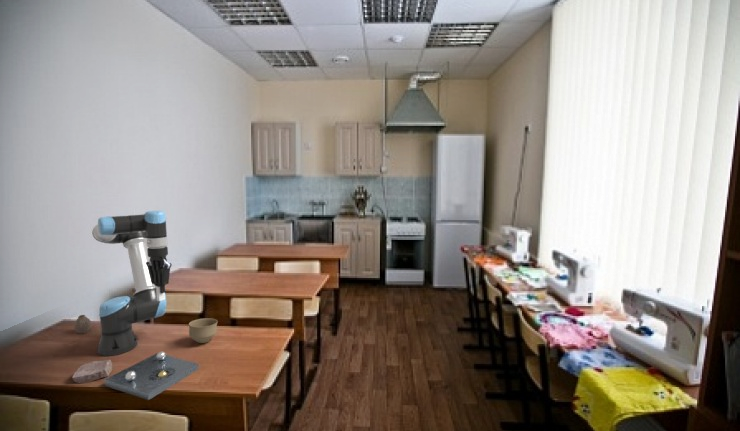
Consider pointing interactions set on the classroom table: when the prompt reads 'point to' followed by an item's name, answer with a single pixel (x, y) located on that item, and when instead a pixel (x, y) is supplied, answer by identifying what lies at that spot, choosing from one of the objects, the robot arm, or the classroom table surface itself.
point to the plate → (152, 376)
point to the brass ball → (162, 373)
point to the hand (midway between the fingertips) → (161, 299)
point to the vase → (82, 324)
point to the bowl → (203, 329)
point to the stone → (92, 371)
